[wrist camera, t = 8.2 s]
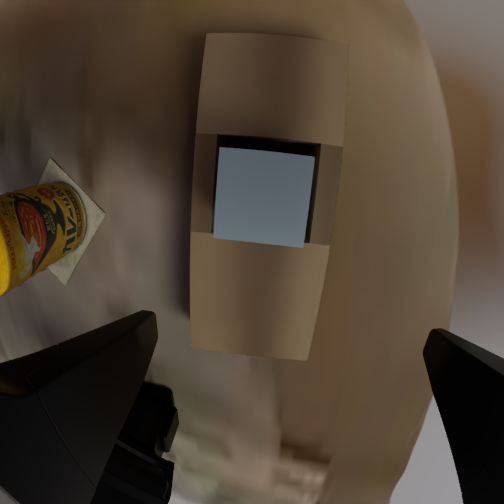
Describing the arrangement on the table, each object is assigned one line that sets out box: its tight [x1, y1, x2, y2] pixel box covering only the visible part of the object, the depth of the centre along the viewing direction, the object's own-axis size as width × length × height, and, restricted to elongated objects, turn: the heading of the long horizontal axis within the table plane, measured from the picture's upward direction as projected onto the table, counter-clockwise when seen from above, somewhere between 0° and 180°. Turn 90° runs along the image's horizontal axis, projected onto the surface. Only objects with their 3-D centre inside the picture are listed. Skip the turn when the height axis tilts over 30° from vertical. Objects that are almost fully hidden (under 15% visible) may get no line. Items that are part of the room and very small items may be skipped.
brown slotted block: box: [190, 33, 349, 360], centre depth 18 cm, size 8×20×3 cm, turn 175°
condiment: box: [0, 158, 106, 296], centre depth 15 cm, size 7×8×12 cm
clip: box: [213, 147, 315, 248], centre depth 16 cm, size 4×4×7 cm
